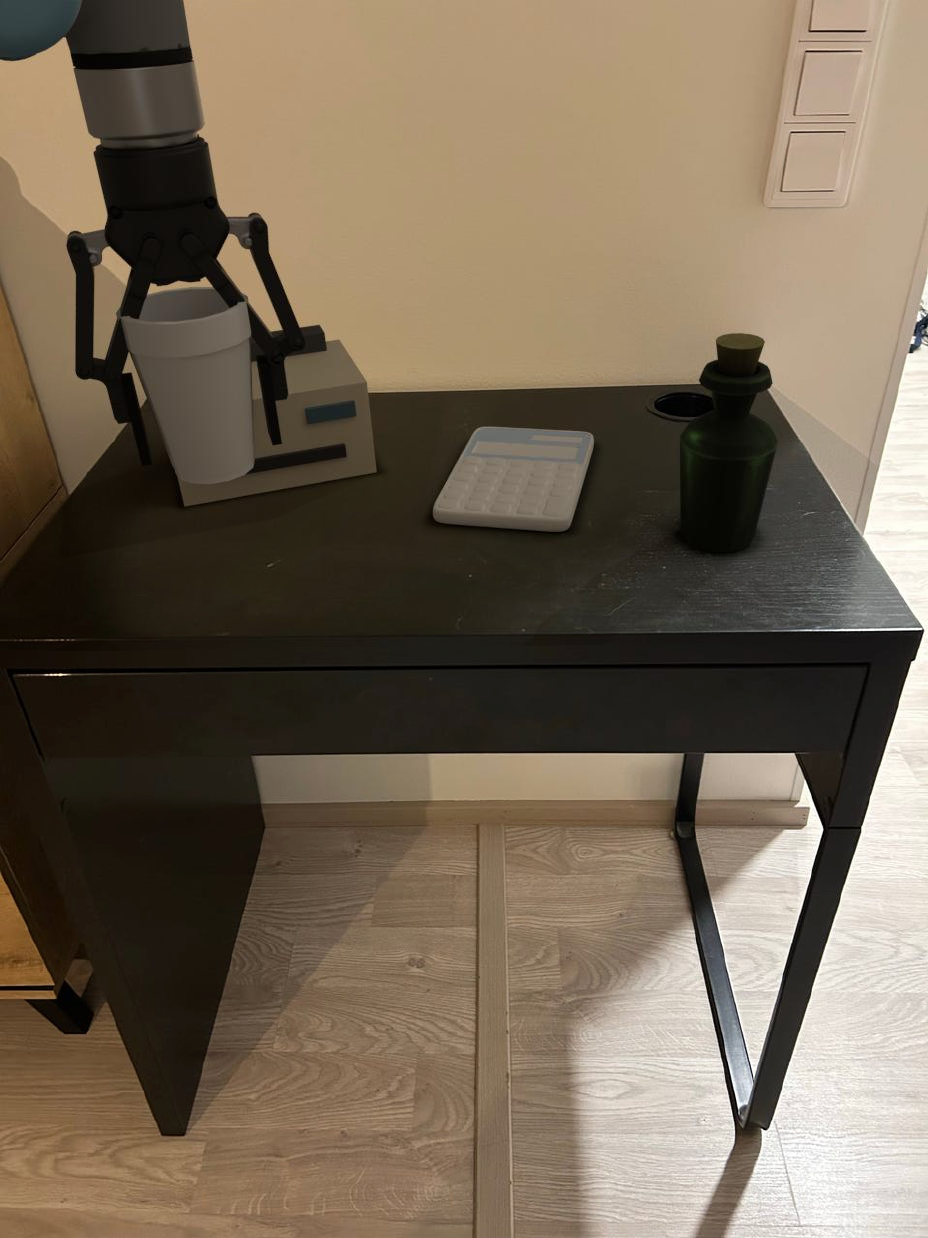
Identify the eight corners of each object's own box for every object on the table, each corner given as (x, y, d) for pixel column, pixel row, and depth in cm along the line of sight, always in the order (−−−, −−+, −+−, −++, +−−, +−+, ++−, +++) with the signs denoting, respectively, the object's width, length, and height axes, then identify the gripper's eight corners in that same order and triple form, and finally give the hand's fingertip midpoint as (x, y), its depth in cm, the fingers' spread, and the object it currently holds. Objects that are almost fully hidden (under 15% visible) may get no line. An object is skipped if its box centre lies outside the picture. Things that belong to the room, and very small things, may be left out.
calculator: (430, 525, 91) (428, 507, 90) (476, 438, 107) (475, 422, 106) (569, 535, 88) (569, 517, 87) (595, 444, 104) (596, 428, 103)
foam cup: (297, 456, 78) (273, 295, 71) (216, 502, 72) (181, 331, 65) (214, 434, 83) (183, 281, 75) (131, 476, 76) (89, 313, 69)
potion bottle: (763, 517, 89) (791, 326, 79) (763, 562, 83) (794, 360, 72) (674, 511, 91) (691, 322, 81) (668, 554, 85) (685, 356, 74)
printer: (184, 508, 96) (157, 394, 89) (176, 452, 108) (151, 347, 101) (377, 473, 101) (365, 363, 94) (349, 423, 112) (337, 321, 105)
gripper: (304, 118, 69) (338, 410, 82) (-22, 144, 64) (68, 451, 77) (323, 131, 63) (356, 444, 76) (-35, 161, 58) (65, 491, 71)
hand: (211, 448), depth 76 cm, fingers closed on foam cup, 9 cm apart
